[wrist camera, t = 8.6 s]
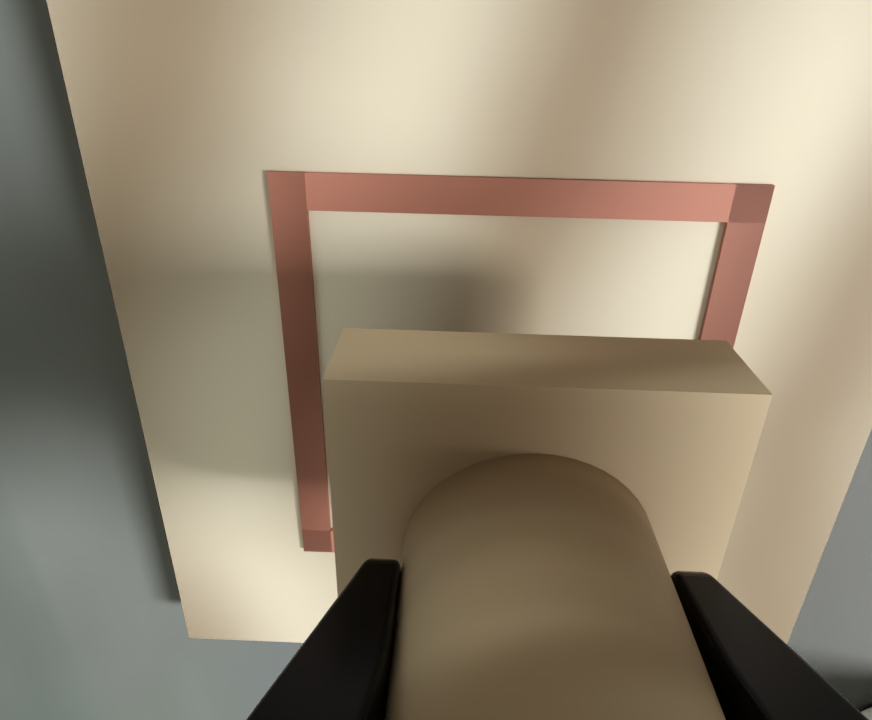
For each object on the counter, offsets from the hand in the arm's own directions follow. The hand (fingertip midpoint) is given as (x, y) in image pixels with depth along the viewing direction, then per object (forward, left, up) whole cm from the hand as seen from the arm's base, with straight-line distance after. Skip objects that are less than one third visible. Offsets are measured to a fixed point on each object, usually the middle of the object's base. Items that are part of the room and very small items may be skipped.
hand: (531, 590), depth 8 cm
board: (0, 0, -6) cm, 6 cm away
